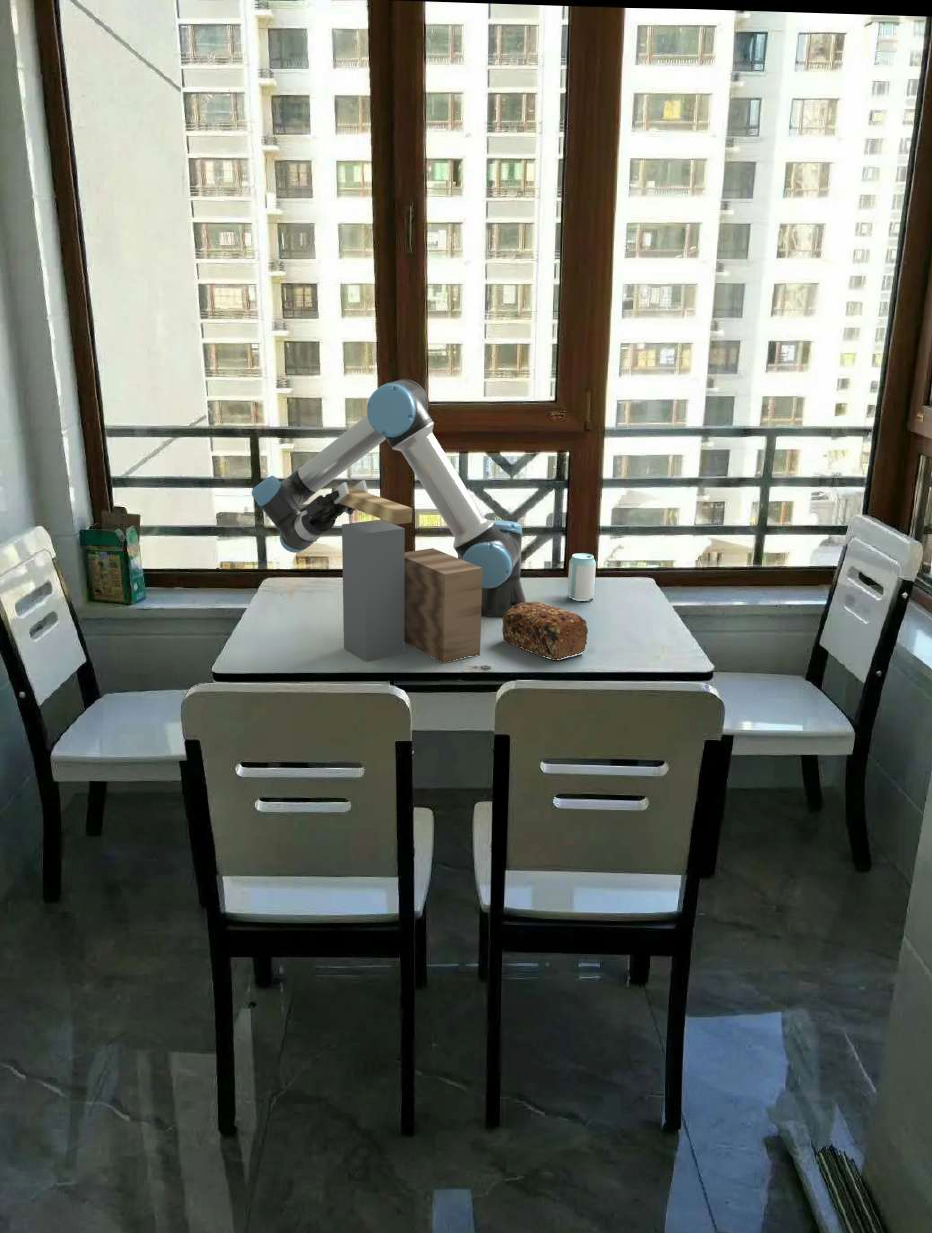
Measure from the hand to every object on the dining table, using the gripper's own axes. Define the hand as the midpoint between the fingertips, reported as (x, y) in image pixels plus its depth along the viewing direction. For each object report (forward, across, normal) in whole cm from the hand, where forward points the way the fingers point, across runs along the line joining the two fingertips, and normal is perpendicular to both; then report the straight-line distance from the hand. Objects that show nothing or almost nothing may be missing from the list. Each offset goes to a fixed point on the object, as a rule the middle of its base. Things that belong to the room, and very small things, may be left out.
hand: (355, 487), depth 222 cm
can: (-17, -68, -33) cm, 77 cm away
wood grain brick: (-8, -14, -38) cm, 41 cm away
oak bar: (+3, 0, -7) cm, 8 cm away
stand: (-12, 0, -35) cm, 37 cm away
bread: (+4, -34, -45) cm, 57 cm away
